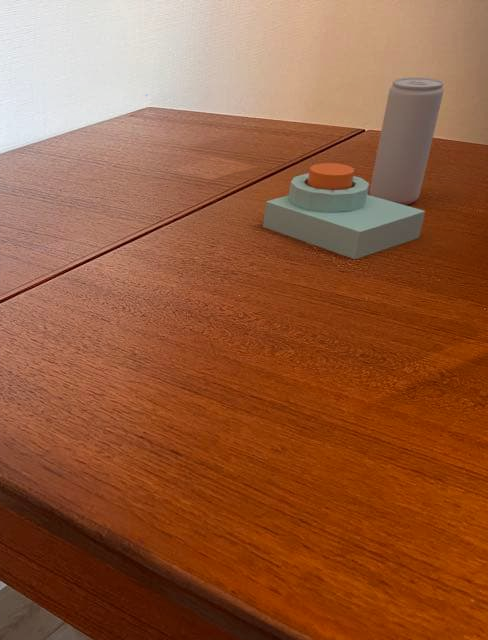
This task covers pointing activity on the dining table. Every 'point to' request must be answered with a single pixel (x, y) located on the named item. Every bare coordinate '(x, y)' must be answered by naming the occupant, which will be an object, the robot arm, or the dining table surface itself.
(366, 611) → the dining table surface
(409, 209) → the control box
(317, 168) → the button
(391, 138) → the beverage can
